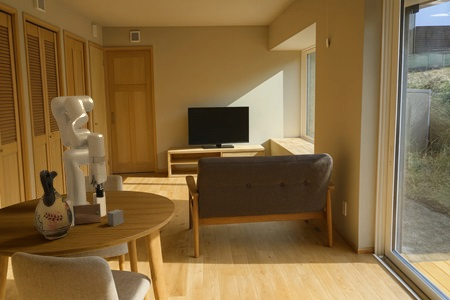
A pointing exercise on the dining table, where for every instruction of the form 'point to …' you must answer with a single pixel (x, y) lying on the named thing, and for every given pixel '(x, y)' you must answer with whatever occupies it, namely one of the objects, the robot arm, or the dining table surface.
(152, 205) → the dining table surface
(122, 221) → the block
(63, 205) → the ceramic jug
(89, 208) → the door
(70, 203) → the wall
